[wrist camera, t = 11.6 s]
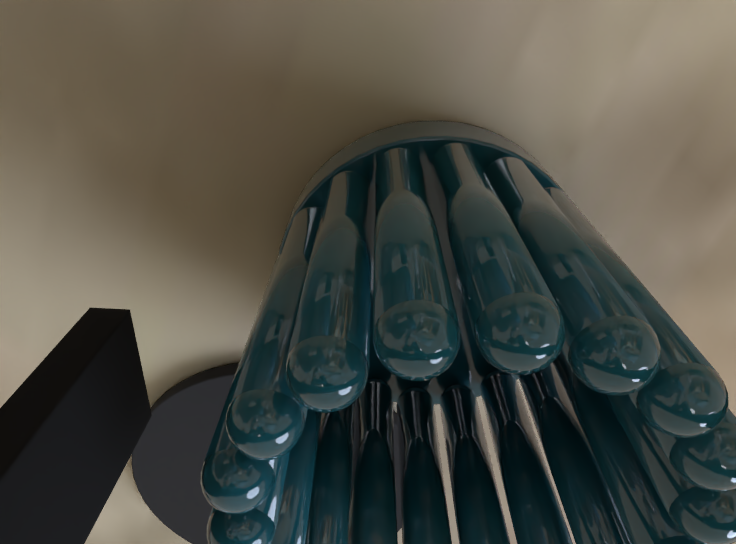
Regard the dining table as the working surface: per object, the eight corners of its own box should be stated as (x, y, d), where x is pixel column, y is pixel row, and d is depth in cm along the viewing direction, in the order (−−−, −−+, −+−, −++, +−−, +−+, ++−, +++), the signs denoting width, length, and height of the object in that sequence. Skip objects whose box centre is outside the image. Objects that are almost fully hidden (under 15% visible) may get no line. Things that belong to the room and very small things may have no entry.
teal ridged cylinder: (558, 363, 17) (307, 379, 18) (585, 104, 13) (259, 134, 14) (703, 680, 10) (253, 691, 10) (875, 290, 6) (106, 343, 6)
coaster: (111, 353, 18) (103, 365, 17) (434, 367, 18) (435, 380, 17) (160, 550, 23) (155, 563, 22) (408, 560, 23) (408, 574, 22)
